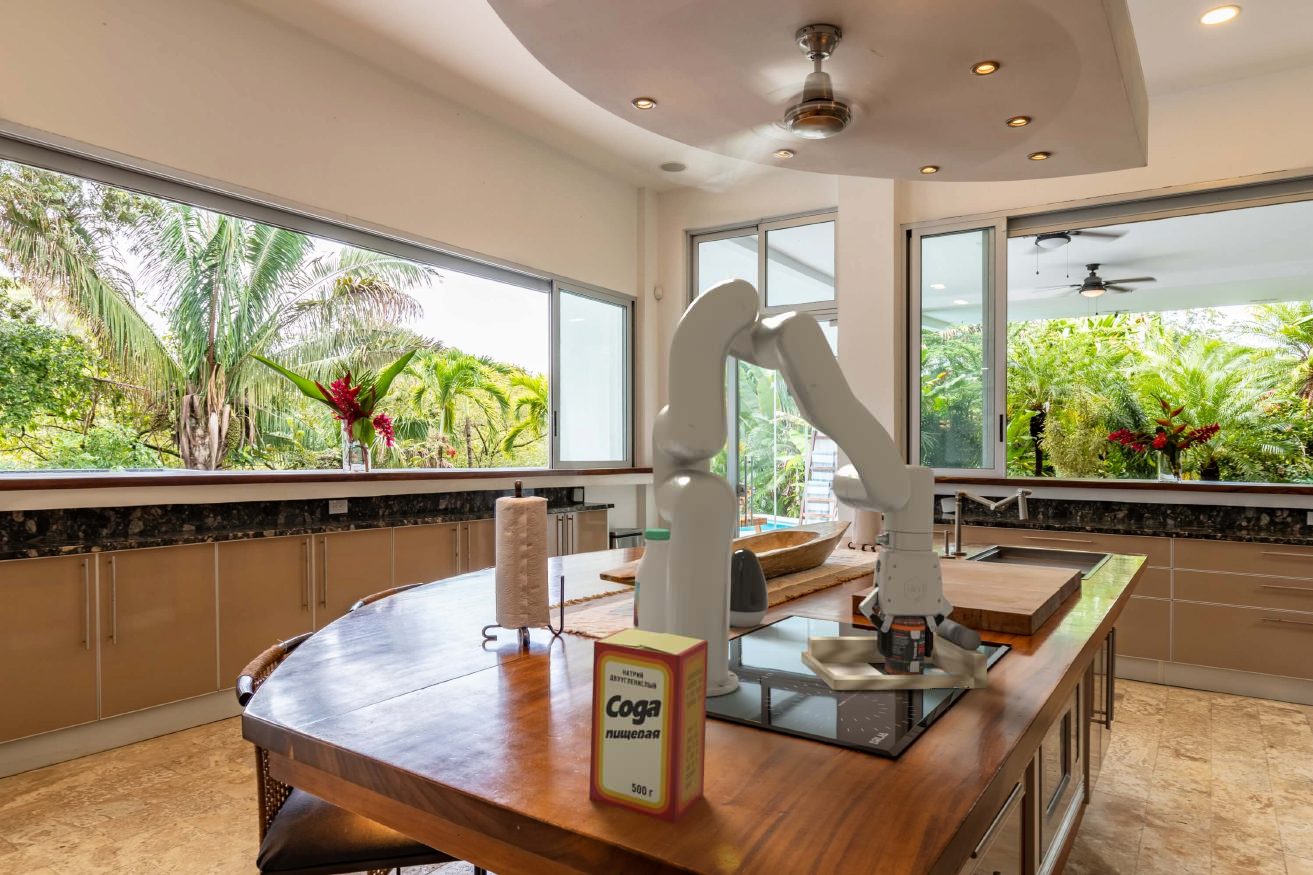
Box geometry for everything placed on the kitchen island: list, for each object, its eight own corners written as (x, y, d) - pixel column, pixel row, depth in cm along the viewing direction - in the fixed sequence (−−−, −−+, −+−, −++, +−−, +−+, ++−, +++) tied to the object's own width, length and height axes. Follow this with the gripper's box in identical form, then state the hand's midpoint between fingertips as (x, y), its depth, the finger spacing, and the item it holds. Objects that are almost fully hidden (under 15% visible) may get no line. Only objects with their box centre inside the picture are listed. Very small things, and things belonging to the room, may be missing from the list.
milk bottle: (683, 639, 138) (686, 529, 138) (661, 648, 132) (664, 533, 132) (648, 632, 142) (651, 526, 143) (624, 641, 136) (627, 529, 136)
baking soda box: (589, 798, 75) (594, 637, 76) (622, 774, 81) (626, 624, 81) (674, 823, 71) (680, 651, 71) (703, 795, 77) (707, 637, 77)
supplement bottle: (926, 680, 118) (928, 607, 118) (886, 677, 119) (888, 605, 119) (921, 669, 123) (922, 600, 124) (883, 666, 125) (884, 597, 125)
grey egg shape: (716, 617, 157) (718, 543, 157) (767, 620, 156) (769, 546, 156) (713, 628, 147) (715, 550, 147) (767, 632, 146) (770, 552, 146)
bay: (833, 689, 112) (835, 635, 112) (801, 660, 127) (802, 612, 127) (989, 687, 115) (990, 635, 115) (940, 659, 130) (941, 612, 130)
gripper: (865, 544, 116) (862, 662, 116) (971, 546, 119) (968, 661, 119) (847, 538, 124) (844, 649, 124) (946, 539, 126) (943, 648, 126)
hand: (904, 654), depth 121 cm, fingers closed on supplement bottle, 6 cm apart
